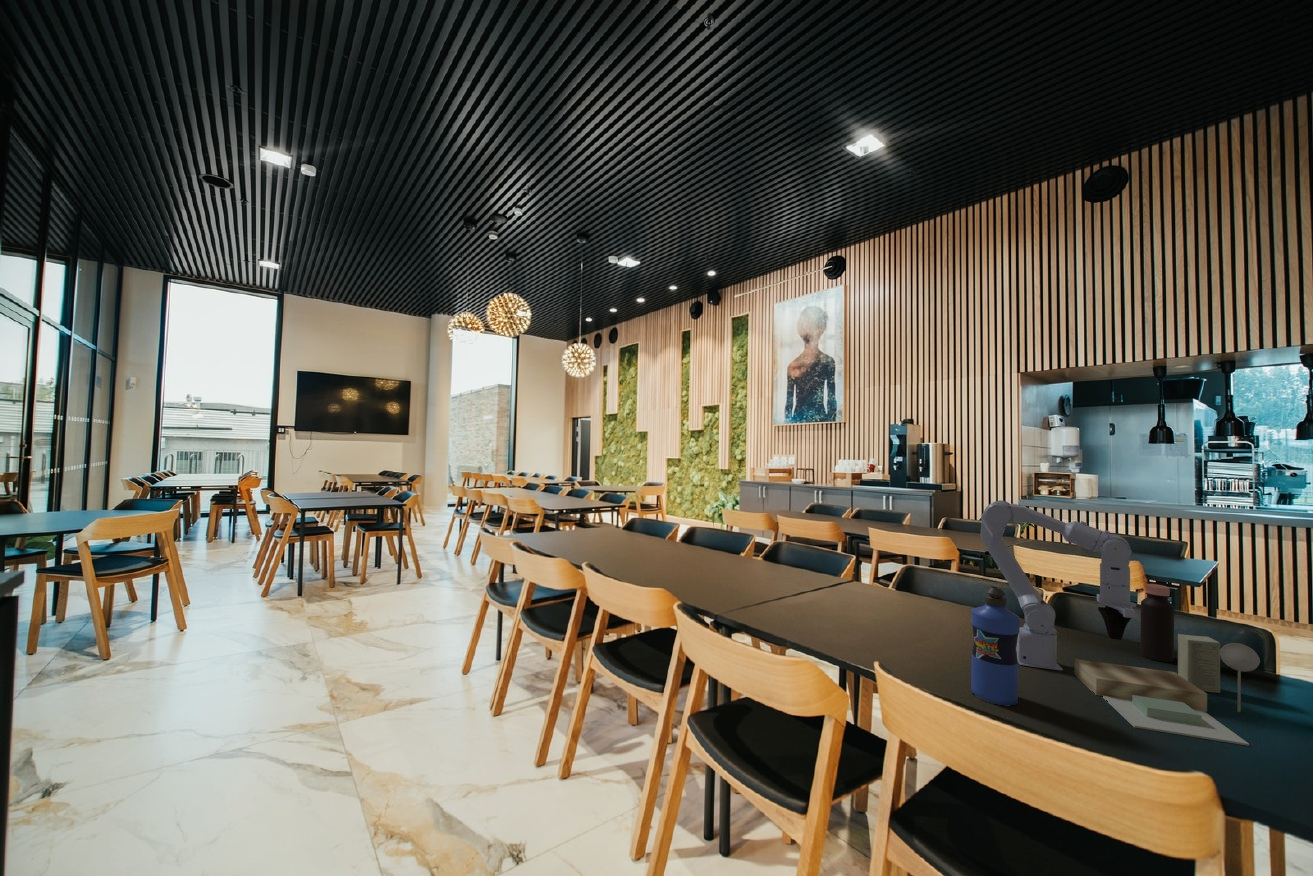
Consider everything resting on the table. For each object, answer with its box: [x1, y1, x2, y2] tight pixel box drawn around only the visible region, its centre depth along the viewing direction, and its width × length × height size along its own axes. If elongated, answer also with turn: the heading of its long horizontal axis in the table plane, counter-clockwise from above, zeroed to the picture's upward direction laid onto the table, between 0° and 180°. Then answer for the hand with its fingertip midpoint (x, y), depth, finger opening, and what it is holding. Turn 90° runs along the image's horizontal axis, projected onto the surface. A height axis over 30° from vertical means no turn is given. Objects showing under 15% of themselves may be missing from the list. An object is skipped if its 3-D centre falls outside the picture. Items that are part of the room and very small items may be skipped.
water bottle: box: [970, 586, 1021, 706], centre depth 120 cm, size 9×9×25 cm
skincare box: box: [1177, 633, 1221, 694], centre depth 128 cm, size 6×4×12 cm
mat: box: [1101, 695, 1250, 747], centre depth 112 cm, size 18×14×1 cm
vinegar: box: [1139, 583, 1175, 663], centre depth 146 cm, size 7×7×20 cm
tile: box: [1132, 695, 1201, 725], centre depth 113 cm, size 9×6×2 cm, turn 71°
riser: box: [1074, 658, 1208, 713], centre depth 124 cm, size 20×12×4 cm, turn 71°
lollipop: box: [1219, 642, 1261, 713], centre depth 116 cm, size 6×6×15 cm
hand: (1115, 638), depth 131 cm, fingers closed
